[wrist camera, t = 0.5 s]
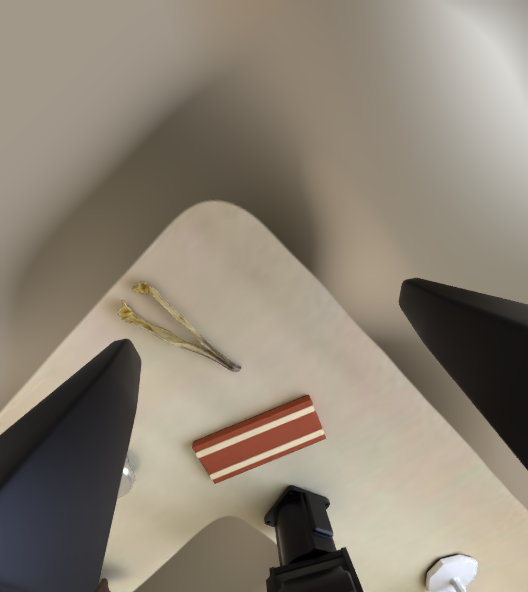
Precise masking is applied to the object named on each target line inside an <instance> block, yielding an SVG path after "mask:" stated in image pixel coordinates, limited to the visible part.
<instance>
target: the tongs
mask: <svg viewBox="0 0 528 592" xmlns="http://www.w3.org/2000/svg"><path fill="white" fill-rule="evenodd" d="M132 291H134V292H140V293H142V294H147V293H150V294H152V295H153V296H154V298H155V299H156V300H157V301H158V302H159V303H160V304H161V305H162V306H163V307H164V308H165V309H166V310H167V311H168V312H170V314H171V315H172V316H173V317H174V318H175V319H177V320H178V321H179V322H180V323H182V324H183V325H184V326H185V327H186V328H188V330H189V331H190V332H191V333H192V334H193V335H194V336H195V338H196V339H197V340H198V341H199V342H200V343H201V344H202V345H203V346H204V347H206V348H207V349H208V350H206V349H204V348H200V347H198V346H196V345H193V344H191V343H188V342H186V341H183V340H181V339H179V338H177V337H175V336H174V335H172V334H171V333H170V332H169V331H167V330H165V329H161V328H158V327H155V326H153V325H151V324H150V323H148V322H146V321H144V320H143V319H141V318H139V317H138V316H137V315H136V314H134V313H133V312H132V310H131V309H130V308H129V307H128V306H127V304H126V303H125V302H124V301H123V300H122V308H120V309H119V310H118V315H119V316H120V317H121V319H122V320H125V321H126V322H128V323H132V322H133V323H135V324H137V325H138V326H140V327H141V328H142V329H144V330H146V331H148V332H150V333H152V334H154V335H156V336H157V337H159V338H160V339H162V340H164V341H166V342H168V343H170V344H173V345H176V346H178V347H181V348H184V349H187V350H190V351H194V352H197V353H200V354H202V355H204V356H206V357H208V358H211V359H212V360H214V361H216V362H218V363H219V364H221V365H222V366H224V367H225V368H227V369H229V370H231V371H233V372H238V371H239V370H240V369H241V367H239V366H236V365H235V364H233V363H232V362H231V361H230V360H228V359H227V358H226V357H224V356H223V355H222V354H220V353H219V352H218V351H217V350H215V349H214V348H213V347H212V346H211V345H210V344H209V343H208V342H207V341H206V340H205V339H204V338H203V337H202V336H201V335H200V334H199V333H198V332H196V331H195V330H194V329H193V328H192V327H191V325H190V324H189V323H188V322H187V321H186V320H185V319H184V317H183V316H181V315H180V314H179V313H178V312H177V311H176V310H175V309H174V308H173V307H172V306H171V305H169V304H168V303H167V302H166V301H165V300H164V299H163V298H162V297H161V296H160V295H159V293H158V292H157V290H156V289H155V288H154V287H152V286H150V285H149V284H148V283H146V282H142V281H141V282H140V283H139V285H135V286H133V287H132ZM139 324H141V325H143V326H145V327H142V326H141V325H139ZM209 350H210V351H209Z"/></svg>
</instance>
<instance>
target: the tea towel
mask: <svg viewBox="0 0 528 592" xmlns="http://www.w3.org/2000/svg"><path fill="white" fill-rule="evenodd" d="M324 439H326V437H325V434H324V431H323V429H322V426H321V424H320V421H319V419H318V416H317V414H316V411H315V409H314V406H313V404H312V401H311V399H310V396H309V395H307V396H305V397H302V398H300V399H297V400H295V401H292V402H290V403H288V404H285V405H283V406H280V407H278V408H275V409H273V410H270V411H268V412H265V413H263V414H261V415H258V416H256V417H253V418H251V419H248V420H246V421H243V422H241V423H238V424H236V425H234V426H231V427H229V428H226V429H224V430H221V431H219V432H216V433H214V434H211V435H209V436H207V437H204V438H202V439H199V440H197V441H194V442H193V445H192V448H193V450H194V452H195V454H196V456H197V457H198V458H199V460H200V461H201V463H202V464H203V466H204V468H205V469H206V471H207V472H208V474H209V476H210V478H211V480H213V482H214V484H216V483H218V482H221V481H223V480H226V479H228V478H231V477H233V476H235V475H238V474H240V473H243V472H245V471H248V470H250V469H253V468H255V467H257V466H260V465H262V464H265V463H267V462H270V461H272V460H275V459H277V458H279V457H282V456H284V455H287V454H289V453H292V452H294V451H297V450H299V449H302V448H304V447H306V446H309V445H311V444H314V443H316V442H319V441H321V440H324Z"/></svg>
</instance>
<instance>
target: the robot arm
mask: <svg viewBox="0 0 528 592" xmlns="http://www.w3.org/2000/svg"><path fill="white" fill-rule="evenodd" d="M399 305H400V308H401V309H402V311H403V312H404V314H405V315H406V317H407V318H408V320H409V321H410V323H411V324H412V326H413V328H414V329H415V331H416V332H417V334H418V335H419V337H420V338H421V340H422V341H423V343H424V344H425V345H426V346H427V348H428V349H429V350H430V352H431V353H432V354H433V355H434V356H435V358H436V359H437V360H438V361H439V363H440V364H441V365H442V366H443V367H444V368H445V370H446V371H447V372H448V374H449V375H450V376H451V377H452V378H453V380H454V381H455V382H456V383H457V384H458V385H459V387H460V388H461V389H462V391H463V392H464V393H465V394H466V396H467V397H468V398H469V399H470V400H471V402H472V403H473V404H474V405H475V407H476V408H477V409H478V410H479V411H480V413H481V414H482V415H483V416H484V418H485V419H486V420H487V421H488V422H489V424H490V425H491V426H492V427H493V429H494V430H495V431H496V432H497V433H498V434H499V436H500V437H501V438H502V440H503V441H504V442H505V443H506V444H507V445H508V447H509V448H510V449H511V451H512V452H513V453H514V454H515V455H516V457H517V458H518V459H519V460H520V462H521V463H522V464H523V465H524V466H525V468H526V469H527V470H528V304H523V303H519V302H515V301H511V300H507V299H503V298H499V297H494V296H490V295H486V294H482V293H478V292H474V291H469V290H466V289H461V288H457V287H453V286H449V285H445V284H440V283H437V282H432V281H428V280H424V279H420V278H413V279H407V280H405V281H403V283H402V286H401V292H400V297H399ZM140 372H141V358H140V356H139V354H138V352H137V351H136V349H135V347H134V345H133V344H132V342H131V341H130V340H129V339H122V340H117V341H114V342H113V343H111V344H110V345H109V346H108V347H107V348H105V349H104V350H103V351H102V352H100V353H99V354H98V355H97V356H96V357H94V358H93V359H92V360H91V361H90V362H88V363H87V364H86V365H85V366H83V367H82V368H81V369H80V370H79V371H77V372H76V373H75V374H74V375H73V376H71V377H70V378H69V379H68V380H66V381H65V382H64V383H63V384H62V385H60V386H59V387H58V388H57V389H56V390H54V391H53V392H52V393H51V394H50V395H48V396H47V397H46V398H45V399H43V400H42V401H41V402H40V403H39V404H37V405H36V406H35V407H34V408H33V409H31V410H30V411H29V412H28V413H26V414H25V415H24V416H23V417H22V418H20V419H19V420H18V421H17V422H16V423H14V424H13V425H12V426H11V427H10V428H8V429H7V430H6V431H5V432H3V433H2V434H1V435H0V592H97V588H98V583H99V579H100V574H101V569H102V565H103V560H104V556H105V551H106V547H107V542H108V538H109V533H110V528H111V524H112V519H113V515H114V510H115V506H116V501H117V497H118V492H119V487H120V483H121V478H122V474H123V469H124V465H125V460H126V456H127V451H128V446H129V442H130V437H131V433H132V428H133V424H134V419H135V414H136V409H137V402H138V392H139V382H140ZM329 505H330V502H329V499H327V498H324V497H322V496H319V495H316V494H313V493H311V492H308V491H305V490H302V489H300V488H297V487H294V486H290V487H288V488H287V490H286V491H285V492H284V493H283V495H282V496H281V497H280V499H279V500H278V501H277V502H276V504H275V505H274V506H273V508H272V509H271V510H270V511H269V513H268V514H267V515H266V517H265V518H264V522H265V524H266V525H269V526H272V527H275V532H276V539H277V546H278V553H279V561H280V567H276V568H274V567H272V568H270V577H269V578H268V579H267V580H266V583H267V592H363V589H362V587H361V584H360V582H359V579H358V577H357V574H356V572H355V569H354V567H353V564H352V562H351V559H350V557H349V554H348V552H347V549H346V547H344V548H341V550H336V547H335V544H334V541H333V538H332V536H333V531H332V527H331V524H330V521H329V518H328V515H327V512H326V509H327V508H328V507H329Z"/></svg>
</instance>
